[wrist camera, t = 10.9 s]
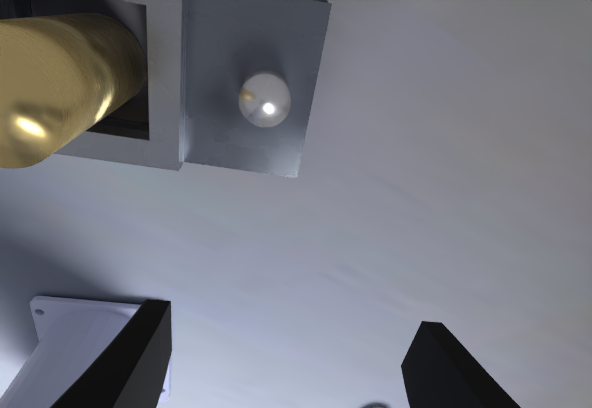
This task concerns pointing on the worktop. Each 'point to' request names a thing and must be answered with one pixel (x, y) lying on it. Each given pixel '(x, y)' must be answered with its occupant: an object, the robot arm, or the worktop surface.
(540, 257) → the worktop surface
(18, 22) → the brass pin
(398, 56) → the worktop surface
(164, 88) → the studded plate with cutout
